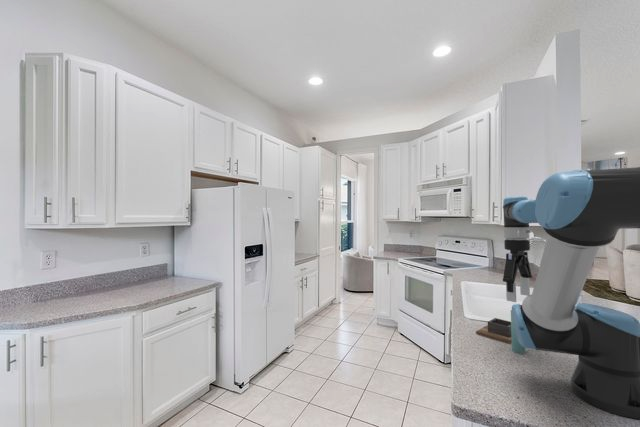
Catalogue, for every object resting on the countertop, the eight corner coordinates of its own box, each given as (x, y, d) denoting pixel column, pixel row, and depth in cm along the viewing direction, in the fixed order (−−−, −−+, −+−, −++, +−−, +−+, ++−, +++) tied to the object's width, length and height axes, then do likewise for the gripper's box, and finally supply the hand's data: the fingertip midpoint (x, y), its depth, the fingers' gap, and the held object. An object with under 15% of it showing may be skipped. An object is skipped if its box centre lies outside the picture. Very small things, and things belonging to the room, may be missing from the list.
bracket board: (509, 344, 104) (509, 330, 104) (476, 334, 113) (475, 321, 114) (522, 334, 112) (521, 321, 113) (490, 326, 122) (489, 314, 122)
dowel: (523, 354, 95) (522, 314, 96) (510, 350, 99) (508, 311, 99) (527, 351, 98) (525, 311, 98) (514, 347, 101) (512, 309, 102)
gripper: (516, 241, 89) (518, 306, 89) (540, 238, 104) (542, 294, 104) (490, 240, 95) (492, 301, 95) (517, 237, 110) (518, 290, 110)
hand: (518, 298), depth 99 cm, fingers open, 13 cm apart
